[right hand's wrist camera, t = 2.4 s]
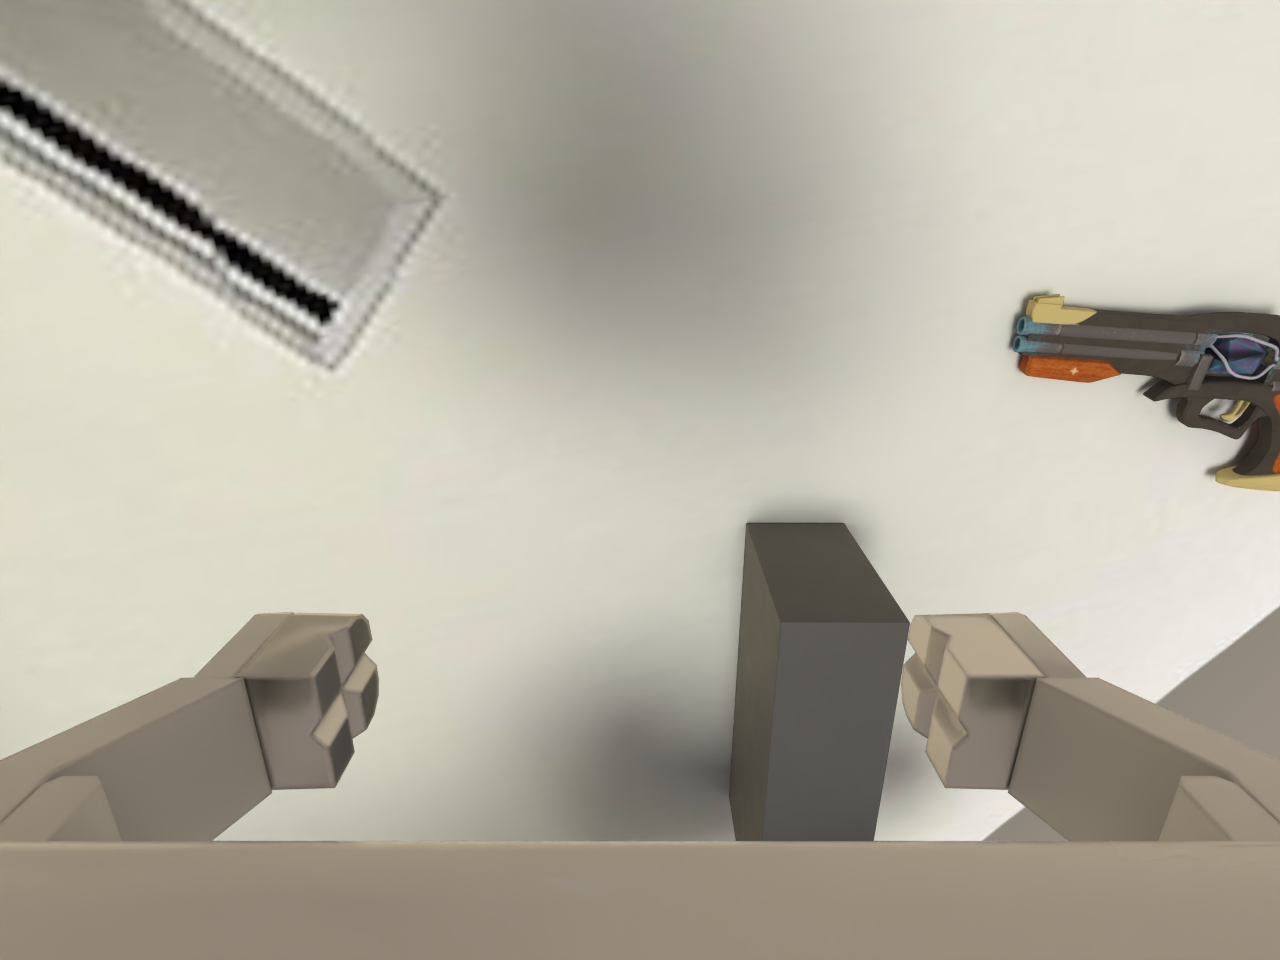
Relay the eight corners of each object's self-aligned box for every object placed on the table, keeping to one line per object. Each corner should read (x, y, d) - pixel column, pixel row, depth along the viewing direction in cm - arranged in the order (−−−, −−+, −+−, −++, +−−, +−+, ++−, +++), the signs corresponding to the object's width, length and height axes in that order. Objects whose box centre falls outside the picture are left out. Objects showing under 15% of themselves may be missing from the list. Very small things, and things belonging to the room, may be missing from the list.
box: (746, 522, 42) (780, 622, 32) (844, 522, 42) (910, 622, 32) (729, 796, 50) (752, 948, 40) (811, 797, 50) (856, 948, 40)
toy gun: (1327, 501, 39) (1431, 326, 34) (985, 472, 39) (1041, 298, 35) (1290, 479, 41) (1383, 313, 36) (968, 453, 42) (1019, 287, 37)
